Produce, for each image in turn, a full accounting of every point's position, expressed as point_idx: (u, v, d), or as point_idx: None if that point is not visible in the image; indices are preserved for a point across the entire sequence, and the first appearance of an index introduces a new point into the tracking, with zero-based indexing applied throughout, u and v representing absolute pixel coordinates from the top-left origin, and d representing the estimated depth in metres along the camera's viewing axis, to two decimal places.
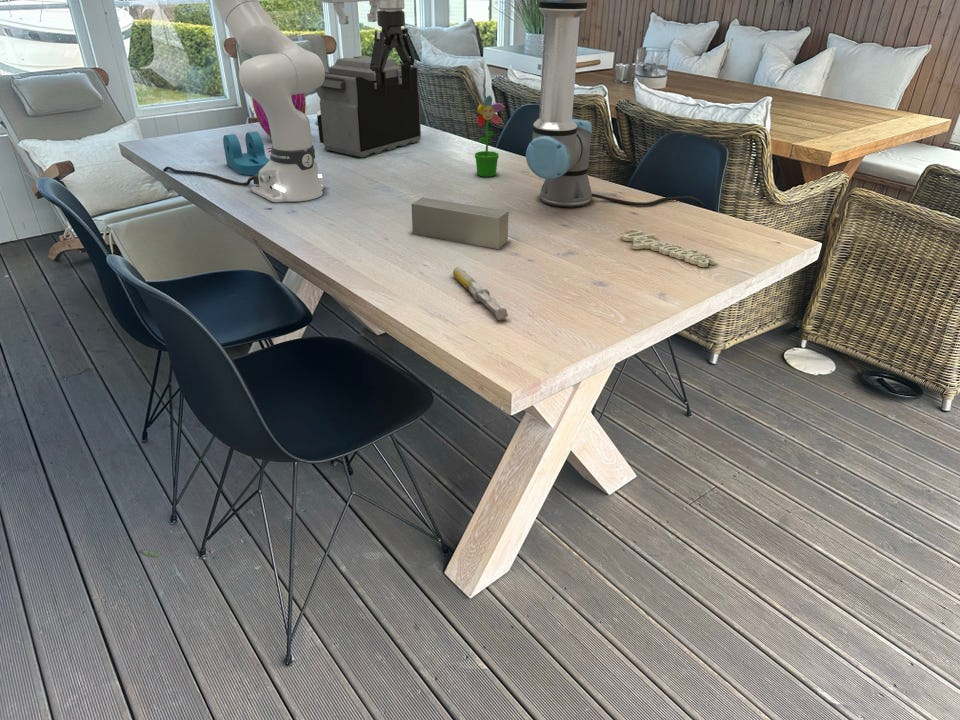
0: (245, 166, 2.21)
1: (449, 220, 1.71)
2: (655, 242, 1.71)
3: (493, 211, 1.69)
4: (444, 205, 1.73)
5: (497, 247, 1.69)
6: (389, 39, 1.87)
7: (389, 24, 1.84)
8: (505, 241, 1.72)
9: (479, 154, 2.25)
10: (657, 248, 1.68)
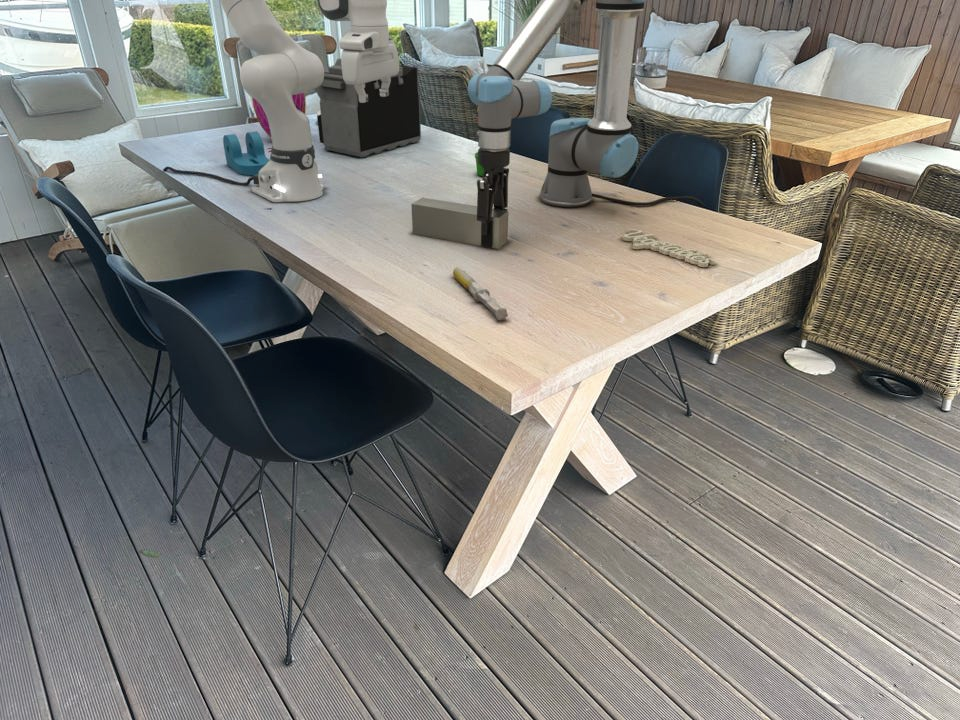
0: (245, 166, 2.21)
1: (449, 220, 1.71)
2: (655, 242, 1.71)
3: (493, 211, 1.69)
4: (444, 205, 1.73)
5: (497, 247, 1.69)
6: (491, 181, 1.61)
7: (493, 166, 1.59)
8: (505, 241, 1.72)
9: None
10: (657, 248, 1.68)
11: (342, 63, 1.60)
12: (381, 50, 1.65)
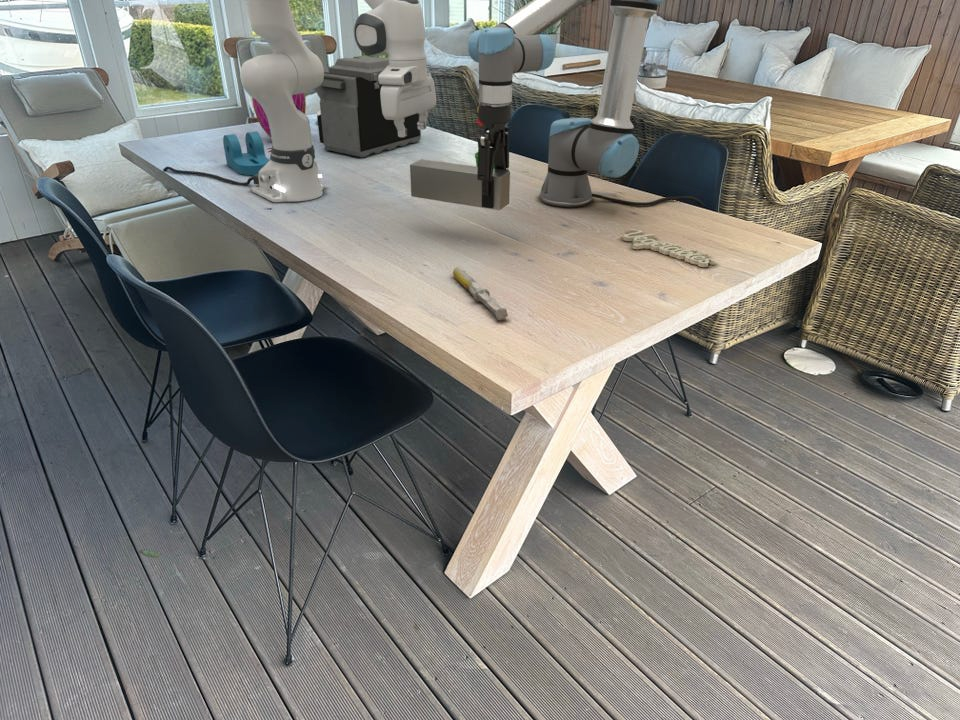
0: (245, 166, 2.21)
1: (449, 181, 1.66)
2: (655, 242, 1.71)
3: (494, 171, 1.64)
4: (443, 165, 1.68)
5: (498, 208, 1.64)
6: (492, 138, 1.56)
7: (494, 121, 1.54)
8: (506, 203, 1.67)
9: None
10: (657, 248, 1.68)
11: (381, 98, 1.57)
12: (420, 84, 1.61)
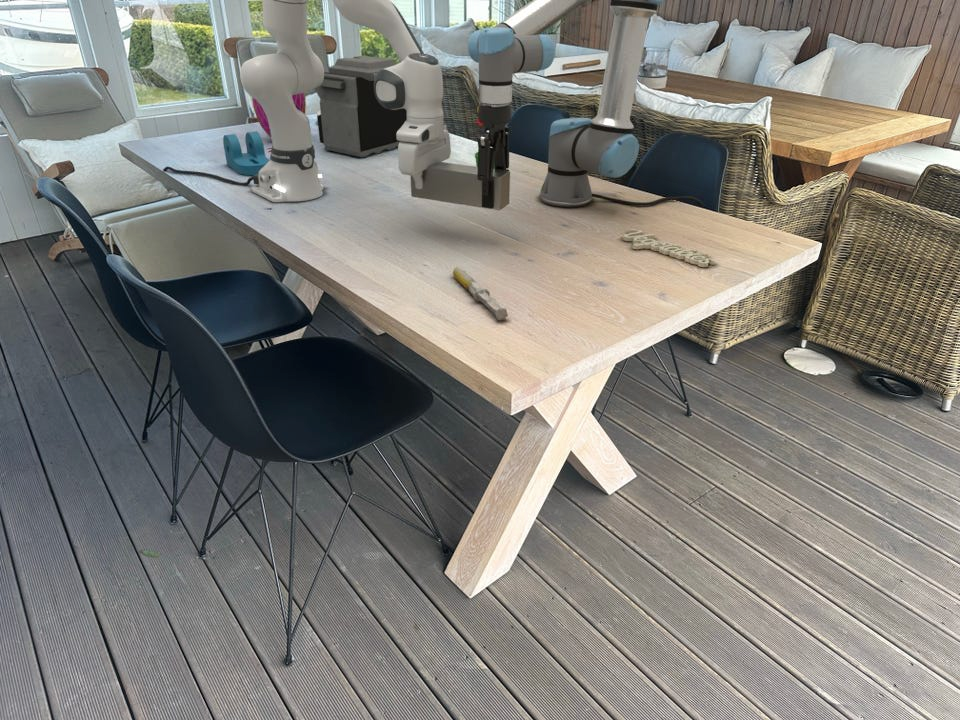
0: (245, 166, 2.21)
1: (449, 181, 1.66)
2: (655, 242, 1.71)
3: (494, 171, 1.64)
4: (443, 166, 1.68)
5: (498, 208, 1.64)
6: (492, 138, 1.56)
7: (494, 121, 1.54)
8: (506, 203, 1.67)
9: None
10: (657, 248, 1.68)
11: (399, 155, 1.61)
12: (436, 139, 1.65)
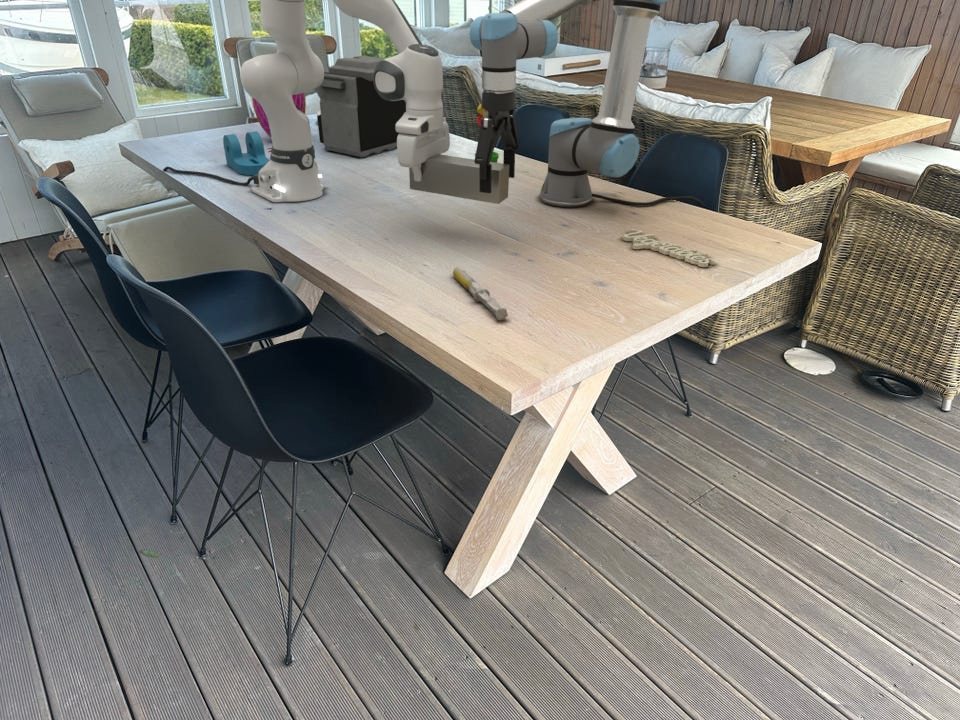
0: (245, 166, 2.21)
1: (448, 174, 1.65)
2: (655, 242, 1.71)
3: (493, 164, 1.63)
4: (442, 158, 1.67)
5: (497, 202, 1.63)
6: (496, 126, 1.54)
7: (498, 109, 1.52)
8: (505, 196, 1.66)
9: None
10: (657, 248, 1.68)
11: (398, 146, 1.60)
12: (435, 131, 1.64)
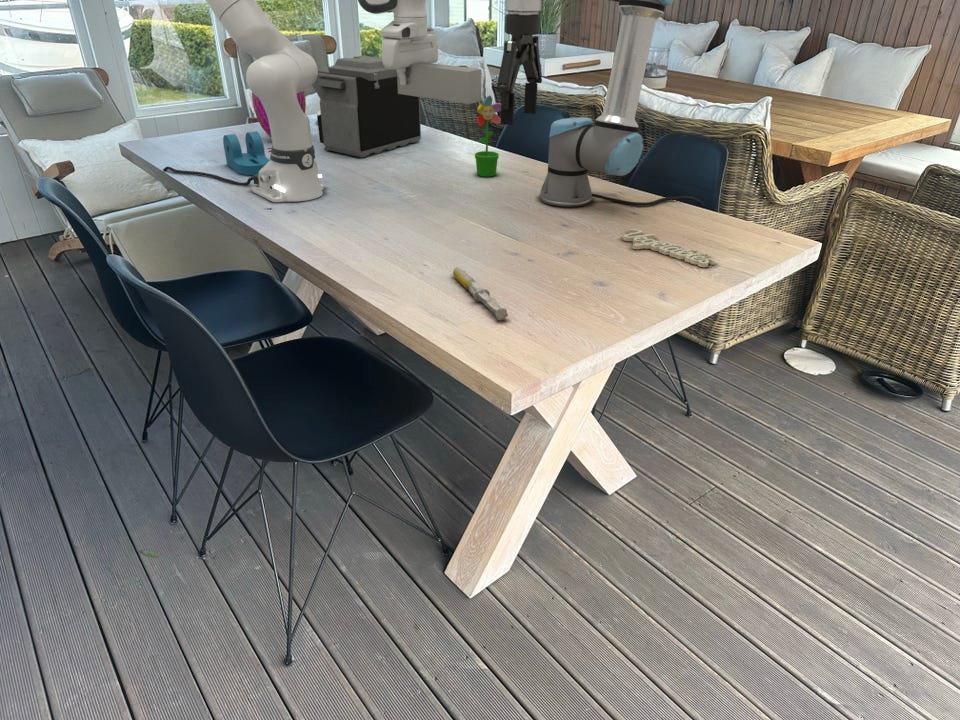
0: (245, 166, 2.21)
1: (427, 77, 1.85)
2: (655, 242, 1.71)
3: (467, 68, 1.81)
4: (425, 64, 1.86)
5: (467, 102, 1.81)
6: (520, 51, 1.44)
7: (522, 31, 1.42)
8: (478, 99, 1.84)
9: (479, 154, 2.25)
10: (657, 248, 1.68)
11: (382, 49, 1.81)
12: (419, 39, 1.84)
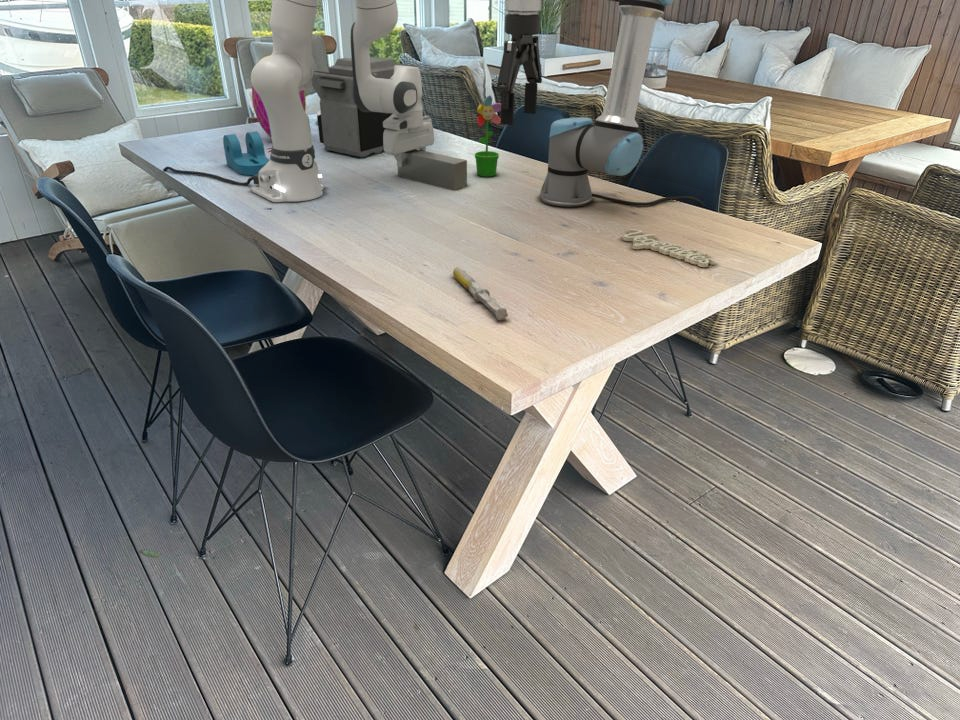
0: (245, 166, 2.21)
1: (422, 165, 2.15)
2: (655, 242, 1.71)
3: (454, 159, 2.11)
4: (420, 153, 2.17)
5: (454, 188, 2.11)
6: (520, 51, 1.44)
7: (522, 31, 1.42)
8: (463, 185, 2.14)
9: (479, 154, 2.25)
10: (657, 248, 1.68)
11: (383, 138, 2.12)
12: (415, 128, 2.15)
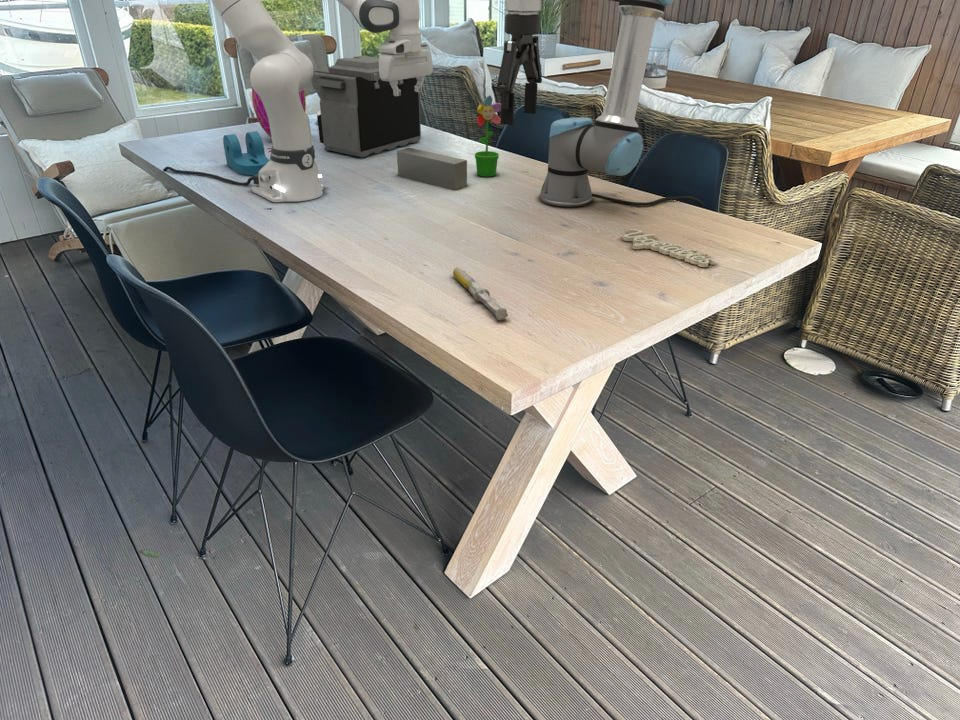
0: (245, 166, 2.21)
1: (422, 165, 2.15)
2: (655, 242, 1.71)
3: (454, 159, 2.11)
4: (420, 153, 2.17)
5: (454, 188, 2.11)
6: (520, 51, 1.44)
7: (522, 31, 1.42)
8: (463, 185, 2.14)
9: (479, 154, 2.25)
10: (657, 248, 1.68)
11: (379, 64, 2.01)
12: (413, 54, 2.04)
